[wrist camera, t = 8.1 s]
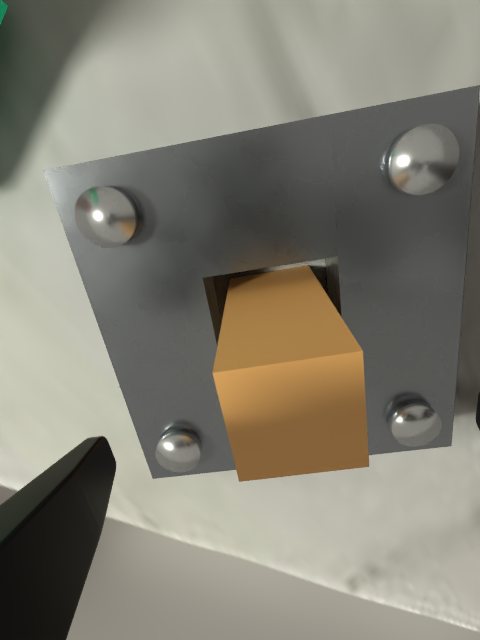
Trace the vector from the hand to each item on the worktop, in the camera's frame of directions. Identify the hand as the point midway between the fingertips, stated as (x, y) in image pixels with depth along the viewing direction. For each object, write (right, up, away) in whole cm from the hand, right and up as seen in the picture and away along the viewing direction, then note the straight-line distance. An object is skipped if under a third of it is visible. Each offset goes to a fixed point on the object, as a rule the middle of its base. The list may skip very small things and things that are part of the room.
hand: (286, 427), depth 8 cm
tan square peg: (0, +3, +8) cm, 8 cm away
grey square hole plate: (0, +3, +8) cm, 8 cm away
